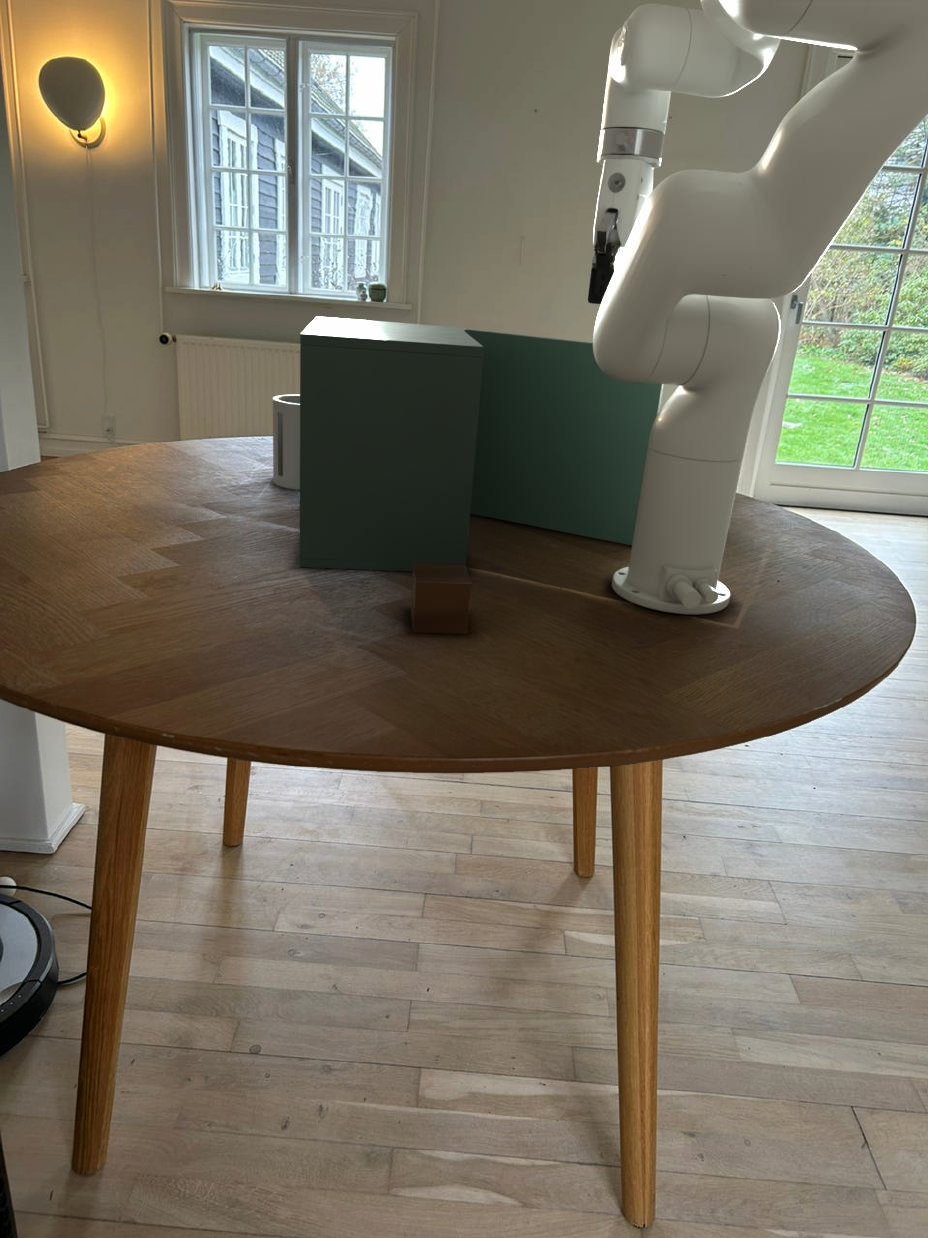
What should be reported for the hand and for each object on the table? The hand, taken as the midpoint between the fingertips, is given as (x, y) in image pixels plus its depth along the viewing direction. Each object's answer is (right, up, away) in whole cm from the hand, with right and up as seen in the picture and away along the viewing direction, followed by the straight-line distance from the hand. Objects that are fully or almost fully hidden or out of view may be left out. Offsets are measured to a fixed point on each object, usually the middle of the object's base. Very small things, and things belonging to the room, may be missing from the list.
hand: (610, 303), depth 107 cm
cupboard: (-29, -29, -3) cm, 41 cm away
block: (-21, -40, -27) cm, 53 cm away
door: (-7, -27, +8) cm, 29 cm away
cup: (-42, -20, +18) cm, 50 cm away
